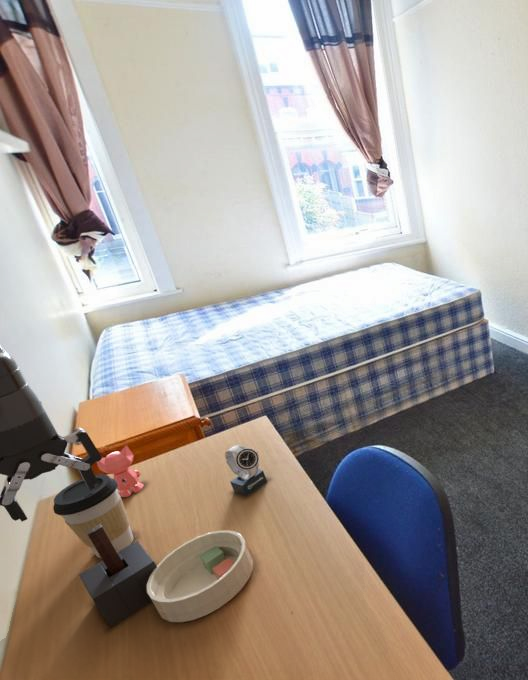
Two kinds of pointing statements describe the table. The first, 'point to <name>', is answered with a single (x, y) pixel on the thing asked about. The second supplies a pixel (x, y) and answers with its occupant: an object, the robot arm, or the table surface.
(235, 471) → the watch
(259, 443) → the table surface
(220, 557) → the sage block
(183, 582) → the bowl
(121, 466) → the cat figurine
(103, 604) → the stand
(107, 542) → the chopsticks
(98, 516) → the coffee cup
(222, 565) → the terracotta block
